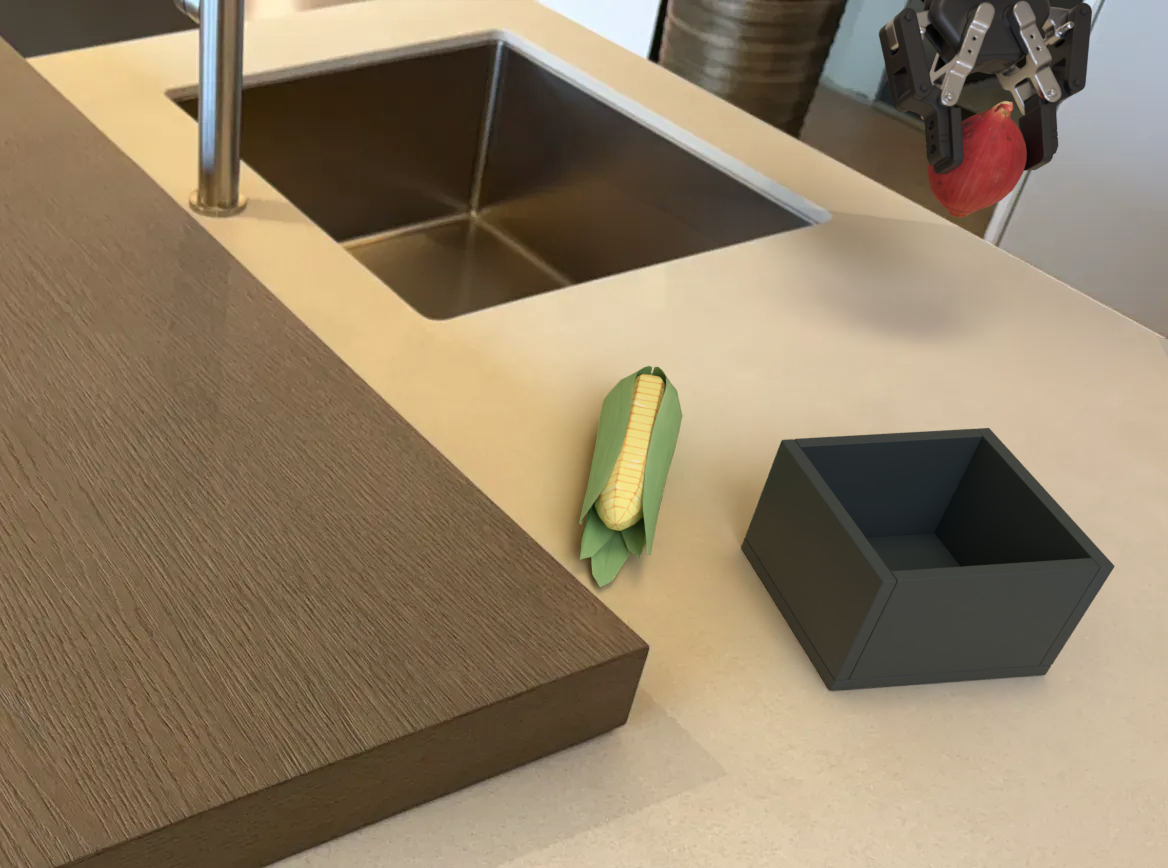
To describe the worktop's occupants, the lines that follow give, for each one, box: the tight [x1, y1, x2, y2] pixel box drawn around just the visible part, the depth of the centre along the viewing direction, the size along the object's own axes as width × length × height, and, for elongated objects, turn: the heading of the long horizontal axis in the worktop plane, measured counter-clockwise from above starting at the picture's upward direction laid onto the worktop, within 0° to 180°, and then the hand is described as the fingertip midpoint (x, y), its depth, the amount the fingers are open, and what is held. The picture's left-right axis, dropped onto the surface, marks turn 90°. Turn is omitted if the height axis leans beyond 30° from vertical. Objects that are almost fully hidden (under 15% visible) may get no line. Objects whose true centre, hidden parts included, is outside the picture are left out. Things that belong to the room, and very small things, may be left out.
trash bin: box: [740, 427, 1116, 692], centre depth 76 cm, size 13×13×8 cm
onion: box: [927, 100, 1027, 219], centre depth 93 cm, size 6×6×8 cm
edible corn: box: [578, 365, 683, 588], centre depth 85 cm, size 5×20×5 cm, turn 161°
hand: (993, 167), depth 92 cm, fingers closed on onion, 5 cm apart
